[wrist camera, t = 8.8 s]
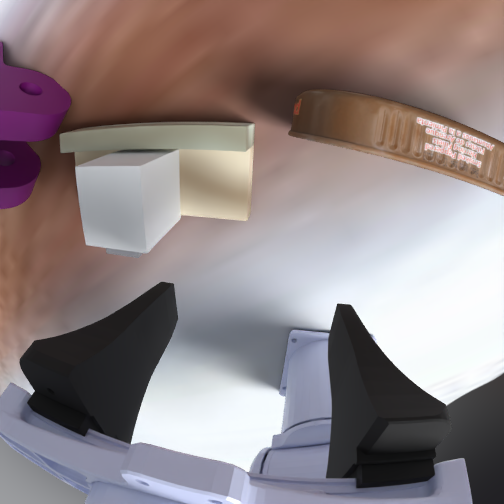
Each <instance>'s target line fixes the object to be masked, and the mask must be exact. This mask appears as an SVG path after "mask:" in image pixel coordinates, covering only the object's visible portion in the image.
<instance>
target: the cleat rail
mask: <svg viewBox="0 0 504 504" xmlns="http://www.w3.org/2000/svg"><path fill="white" fill-rule="evenodd" d="M254 130H255V123H235V122H155V123H135V124H120V125H108V126H97V127H88V128H82V129H77V130H73V131H69V132H65V133H61V134H59V135H60V149H61V153H69V152H75V163H76V166H78V165H81V164H84V163H86V162H89V161H91V160H94V159H97V158H99V157H102V156H105V155H108V154H111V153H113V152H116V151H119V150H127V149H179V175H180V212H181V215H187V216H198V217H209V218H220V219H230V220H241V221H247V220H248V218H249V215H250V210H251V190H252V170H253V150H254Z"/></svg>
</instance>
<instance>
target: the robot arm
mask: <svg viewBox="0 0 504 504" xmlns="http://www.w3.org/2000/svg"><path fill="white" fill-rule="evenodd" d="M177 320H178V315H177V307H176V298H175V290H174V284H173V283H166V282H160V283H159V284H157V285H156V286H154V287H153V288H151V289H150V290H148V291H147V292H145V293H144V294H143V295H141V296H140V297H138V298H137V299H135V300H134V301H132V302H131V303H129V304H128V305H126V306H124V307H123V308H121V309H120V310H118V311H116V312H115V313H113V314H111V315H109V316H108V317H106V318H104V319H102V320H100V321H98V322H96V323H93V324H91V325H89V326H86V327H84V328H81V329H78V330H76V331H73V332H70V333H67V334H63V335H60V336H56V337H52V338H47V339H41V340H36V341H34V342H33V343H32V345H31V346H30V347H29V348H28V349H27V351H26V352H25V353H24V354H23V356H22V357H21V358H20V366H21V369H22V371H23V373H24V375H25V376H26V378H27V379H28V381H29V382H30V384H31V386H32V387H33V389H34V390H35V392H34V393H33V395H31V394H30V393H28V392H27V391H26V390H24V389H22V388H20V387H19V386H17V385H15V384H14V383H10V384H9V386H8V387H7V388H6V390H5V391H4V392H3V394H2V395H1V397H0V437H1V438H2V439H3V440H5V442H6V443H7V444H8V445H9V446H11V447H12V448H13V449H14V450H16V451H17V452H18V453H20V454H21V455H23V456H24V457H26V458H27V459H29V460H30V461H32V462H33V463H35V464H36V465H38V466H39V467H41V468H43V469H44V470H46V471H47V472H49V473H51V474H52V475H54V476H56V477H57V478H59V479H60V480H62V481H64V482H66V483H67V484H69V485H71V486H73V487H74V488H76V489H78V490H80V491H82V492H84V493H86V494H87V495H88V496H87V499H86V501H85V503H84V504H472V498H471V492H470V486H469V480H468V475H467V470H466V465H465V460H464V459H463V458H460V459H456V460H450V461H445V462H440V463H438V464H436V465H434V464H433V459H434V458H435V457H436V453H435V447H436V446H437V445H438V444H439V443H440V442H441V441H442V440H443V439H444V438H445V437H446V436H447V435H448V433H449V432H450V431H451V428H452V425H451V421H450V417H449V413H448V410H447V407H446V404H444V403H442V402H441V401H439V400H438V399H436V398H434V397H433V396H431V395H429V394H428V393H427V392H425V391H424V390H422V389H421V388H420V387H418V386H417V385H416V384H415V383H413V382H412V381H411V380H410V379H409V378H408V377H406V376H405V375H404V374H403V373H402V372H401V371H400V370H399V369H398V368H397V367H396V366H395V365H394V364H393V363H392V362H391V361H390V360H389V359H388V357H387V356H386V355H385V354H384V353H383V352H382V350H381V349H380V348H379V346H378V345H377V344H376V343H377V340H376V338H375V337H372V336H371V335H370V334H369V332H368V331H367V329H366V328H365V326H364V325H363V323H362V322H361V320H360V318H359V317H358V315H357V313H356V312H355V310H354V309H353V307H352V306H351V305H348V304H337V307H336V311H335V315H334V318H333V322H332V326H331V330H330V333H323V332H313V331H304V330H292V331H291V332H290V334H289V340H288V346H287V351H286V357H285V363H284V368H283V374H282V379H281V385H280V390H279V394H280V395H281V396H286V397H285V407H284V415H283V424H282V432H281V434H278V435H273V439H272V446H271V447H266V448H264V449H262V450H261V451H260V452H259V453H258V455H257V456H256V458H255V459H254V460H253V462H252V465H251V467H250V471H249V472H245V470H243V469H241V468H239V467H237V466H235V465H233V464H229V463H225V462H221V461H217V460H212V459H207V458H202V457H198V456H193V455H189V454H185V453H181V452H177V451H173V450H169V449H165V448H162V447H158V446H155V445H151V444H146V443H136V444H132V445H131V440H132V435H133V431H134V427H135V424H136V420H137V416H138V413H139V410H140V407H141V403H142V400H143V397H144V394H145V392H146V389H147V386H148V383H149V381H150V378H151V376H152V374H153V372H154V370H155V368H156V366H157V364H158V362H159V360H160V358H161V356H162V354H163V353H164V351H165V349H166V347H167V345H168V343H169V341H170V339H171V337H172V334H173V331H174V329H175V326H176V323H177ZM294 338H295V339H296V340H293V339H294Z"/></svg>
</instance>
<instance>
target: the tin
mask: <svg viewBox="0 0 504 504" xmlns="http://www.w3.org/2000/svg"><path fill="white" fill-rule="evenodd" d="M288 134H289V135H290V136H293V137H297V138H301V139H306V140H310V141H315V142H320V143H325V144H330V145H334V146H338V147H342V148H347V149H351V150H356V151H360V152H364V153H368V154H373V155H377V156H381V157H384V158H388V159H393V160H396V161H400V162H403V163H407V164H411V165H414V166H417V167H421V168H424V169H428V170H431V171H435V172H438V173H441V174H444V175H447V176H450V177H453V178H456V179H459V180H462V181H465V182H468V183H471V184H474V185H476V186H479V187H482V188H484V189H487V190H490V191H492V192H495V193H497V194H500V195H502V196H504V143H503V142H501V141H499V140H497V139H495V138H493V137H490V136H488V135H486V134H484V133H482V132H480V131H477V130H475V129H473V128H471V127H468V126H466V125H463V124H461V123H458V122H456V121H453V120H451V119H448V118H445V117H443V116H440V115H437V114H434V113H431V112H428V111H425V110H422V109H419V108H416V107H413V106H409V105H406V104H402V103H399V102H395V101H392V100H388V99H384V98H380V97H376V96H371V95H366V94H361V93H355V92H349V91H341V90H329V89H315V90H308V91H304V92H303V93H301V94H300V95H298V96H297V98H296V101H295V106H294V113H293V121H292V127H291V130H290V131H289V133H288Z"/></svg>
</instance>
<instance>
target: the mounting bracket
mask: <svg viewBox="0 0 504 504" xmlns="http://www.w3.org/2000/svg"><path fill="white" fill-rule="evenodd" d="M70 105H71V98H70V95H69V93H68V92H67V91H66V90H64V89H63V88H62V87H61V86H60V85H59V84H58V83H57V82H56V81H55V80H54V79H52V78H50V77H49V76H46V75H44V74H42V73H39V72H36V71H33V70H29V69H24V68H18V67H12V66H8V65H6V64H4V63H3V43H2V42H1V41H0V209H6V208H12V207H15V206H18V205H20V204H22V203H23V202H24V201H26V200H27V199H28V197H29V196H30V195H31V193H32V190H33V187H34V185H35V182H36V179H37V177H38V174H39V172H40V167H41V163H40V158H39V156H38V155H37V154H36V153H35V152H34V151H33V150H32V149H31V147H30V146H29V145H28V144H27V143H26V142H25V141H27V142H33V141H41V140H45V139H48V138H50V137H52V136H53V135H54V134H55V133H56V132H57V130H58V128H59V126H60V124H61V122H62V120H63V118H64V116H65V115H66V113H67V111H68V109H69V107H70Z"/></svg>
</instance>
